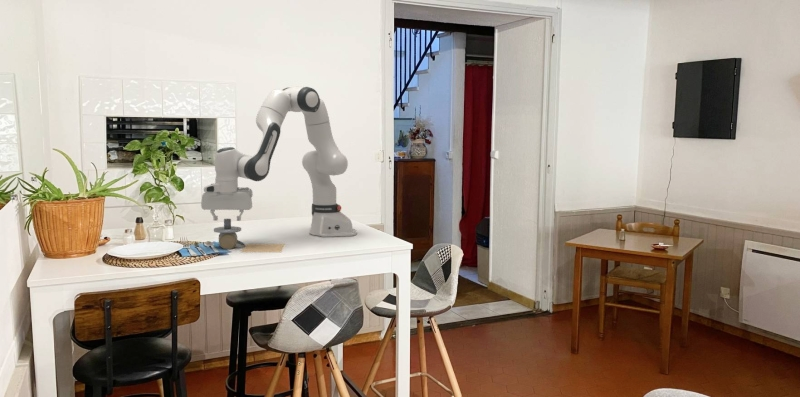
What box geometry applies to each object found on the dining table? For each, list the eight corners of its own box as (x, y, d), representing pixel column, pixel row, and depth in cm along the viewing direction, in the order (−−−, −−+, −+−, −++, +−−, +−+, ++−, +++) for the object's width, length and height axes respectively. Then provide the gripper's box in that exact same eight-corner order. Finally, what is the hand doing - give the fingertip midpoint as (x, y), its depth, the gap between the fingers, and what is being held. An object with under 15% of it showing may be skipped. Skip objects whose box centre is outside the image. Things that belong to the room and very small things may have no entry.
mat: (285, 245, 264) (285, 243, 264) (281, 253, 248) (281, 252, 248) (247, 245, 262) (247, 243, 262) (240, 253, 246) (240, 252, 246)
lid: (243, 228, 261) (243, 217, 260) (239, 233, 250) (238, 221, 249) (216, 228, 260) (216, 216, 259) (211, 233, 249) (211, 221, 248)
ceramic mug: (218, 251, 250) (218, 232, 249) (218, 246, 258) (218, 228, 257) (245, 250, 254) (245, 232, 253) (244, 246, 261) (244, 228, 260)
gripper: (253, 186, 256) (253, 219, 258) (203, 186, 254) (204, 219, 256) (251, 188, 250) (251, 221, 252) (199, 187, 248) (200, 221, 250)
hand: (227, 220), depth 254 cm, fingers open, 8 cm apart
